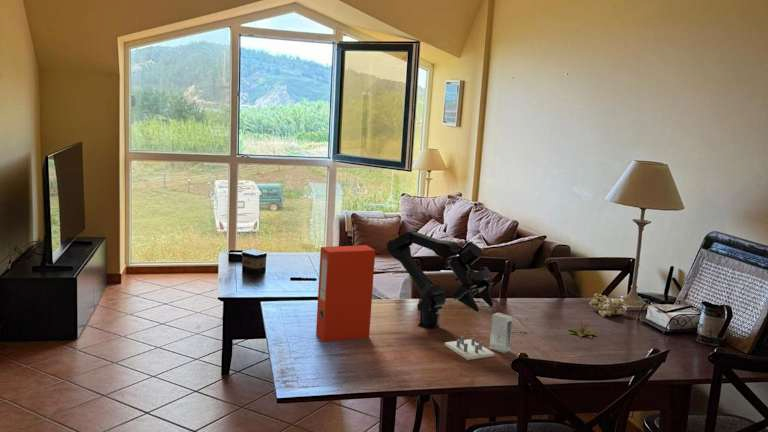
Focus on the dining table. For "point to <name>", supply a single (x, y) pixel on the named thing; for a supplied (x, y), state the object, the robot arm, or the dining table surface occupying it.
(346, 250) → the file binder
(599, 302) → the mineral formation
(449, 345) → the white pegged base
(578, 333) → the olive green spiky piece
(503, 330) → the block
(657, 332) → the dining table surface
